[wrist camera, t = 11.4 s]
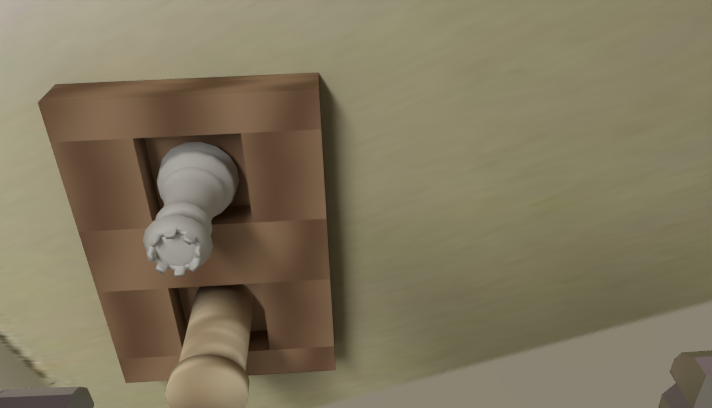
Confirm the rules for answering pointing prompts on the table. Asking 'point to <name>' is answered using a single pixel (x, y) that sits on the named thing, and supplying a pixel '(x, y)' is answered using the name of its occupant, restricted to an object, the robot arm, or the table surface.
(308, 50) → the table surface
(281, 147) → the pallet board
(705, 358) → the robot arm
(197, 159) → the rook chess piece
